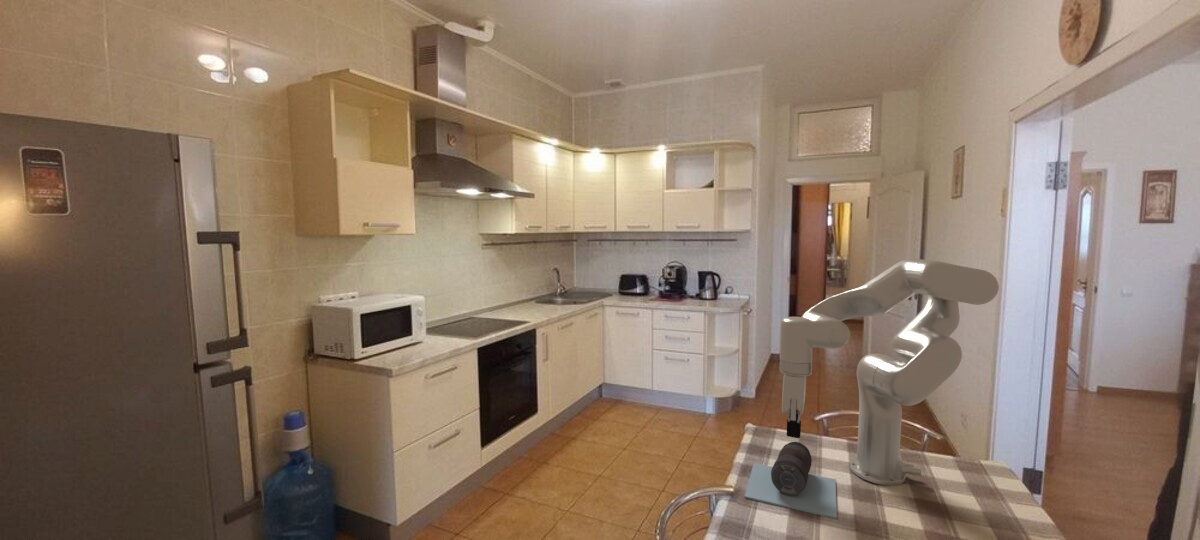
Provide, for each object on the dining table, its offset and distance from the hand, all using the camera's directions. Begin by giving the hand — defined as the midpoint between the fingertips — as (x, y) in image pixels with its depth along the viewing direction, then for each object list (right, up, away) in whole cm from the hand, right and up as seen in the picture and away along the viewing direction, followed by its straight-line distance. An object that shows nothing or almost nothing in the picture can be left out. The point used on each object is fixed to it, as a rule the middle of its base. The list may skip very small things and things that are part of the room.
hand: (793, 435), depth 120 cm
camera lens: (+3, -7, +5) cm, 9 cm away
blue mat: (-2, -12, -3) cm, 13 cm away
